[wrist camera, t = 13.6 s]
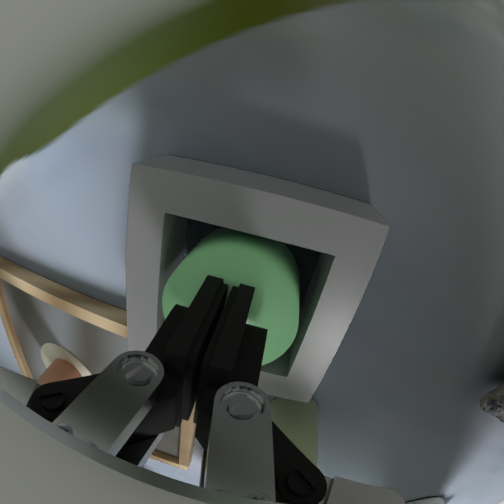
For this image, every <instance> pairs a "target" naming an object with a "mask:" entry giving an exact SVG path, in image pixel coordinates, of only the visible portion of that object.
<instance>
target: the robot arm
mask: <svg viewBox="0 0 504 504" xmlns="http://www.w3.org/2000/svg"><path fill="white" fill-rule="evenodd" d="M223 281H224V280H223V279H222V278H218V277H215V276H211V275H207V277H206V279H205V280H204V282H203V284H202V285H201V287H200V289H199V291H198V292H197V294H196V296H195V297H194V299H193V301H192V303H191V304H190V306H189V308H188V307H185V306H181V305H178V304H176V305H175V306H174V307H173V308H172V310H171V311H170V313H169V315H168V316H167V318H166V319H165V321H164V322H163V324H162V325H161V327H160V328H159V330H158V332H157V333H156V335H155V336H154V338H153V339H152V341H151V343H150V344H149V346H148V347H147V349H146V350H145V351H138V350H134V351H127V352H125V353H122V354H120V355H119V356H117V357H116V358H115V359H114V360H113V361H112V362H111V363H110V364H109V365H108V366H107V367H106V368H105V369H104V370H103V371H102V372H101V373H98V374H93V375H88V376H83V377H78V378H73V379H67V380H62V381H56V382H50V383H47V384H43V385H40V384H39V382H38V381H37V380H35V379H32V378H29V377H26V376H23V375H21V374H18V373H15V372H13V371H10V370H8V369H5V368H3V367H1V366H0V504H444V499H443V498H439V497H434V498H426V499H421V500H416V501H412V502H408V503H405V501H404V499H403V497H402V496H401V495H400V494H399V493H398V492H397V491H394V490H392V489H387V488H382V487H377V486H372V485H368V484H363V483H359V482H355V481H351V480H347V479H343V478H340V477H336V476H335V477H334V478H329V477H326V476H324V475H323V474H322V473H321V471H320V470H319V469H318V468H317V467H316V466H315V465H314V464H313V463H312V462H311V461H310V460H309V459H308V458H307V457H306V456H305V455H304V454H303V453H302V452H301V451H300V450H299V449H298V448H297V447H296V446H295V445H294V444H293V443H292V442H291V441H290V439H289V438H288V437H287V436H286V435H285V434H284V433H283V432H282V431H281V430H280V429H279V428H278V427H277V425H276V424H275V423H274V422H273V421H272V416H271V404H270V400H269V398H268V396H267V395H266V393H265V392H264V391H262V390H261V389H260V388H259V387H258V382H259V377H260V371H261V366H262V360H263V355H264V349H265V343H266V338H267V331H268V329H265V328H261V327H257V326H253V325H249V324H246V322H247V318H248V314H249V310H250V306H251V302H252V299H253V295H254V291H255V287H252V286H248V285H245V284H241V283H240V285H239V287H236V286H233V287H232V289H231V291H230V294H229V296H228V299H227V301H226V304H225V300H226V295H227V290H228V284H225V283H223ZM224 305H225V306H224ZM195 402H196V404H195ZM194 405H195V411H194V419H193V423H196V429H195V437H196V438H197V440H198V441H199V443H200V444H201V446H202V447H203V454H202V463H201V472H200V481H199V487H198V486H195V485H191V484H188V483H185V482H181V481H178V480H175V479H172V478H169V477H166V476H163V475H160V474H158V473H155V472H152V471H149V470H147V469H144V468H142V467H143V466H144V464H145V463H146V461H147V460H148V458H149V457H150V455H151V454H152V452H153V451H154V449H155V448H156V446H157V445H158V443H159V442H160V440H161V439H162V437H163V434H164V432H167V431H170V430H173V429H174V428H175V426H176V427H180V424H181V422H182V419H183V420H186V421H188V420H189V418H190V416H191V413H192V410H193V408H194Z"/></svg>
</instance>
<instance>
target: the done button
mask: <svg viewBox="0 0 504 504" xmlns="http://www.w3.org/2000/svg"><path fill="white" fill-rule="evenodd" d="M207 275H211V276H215V277H218V278H222V279H223V280H224V281H223V283H225V284H228V290H227V295H226V300H225V304H226V301H227V299H228V296H229V294H230V291H231V289H232V287H233V286H236V287H239V285H240V283H241V284H245V285H248V286H252V287H255V291H254V295H253V299H252V302H251V306H250V310H249V314H248V318H247V322H246V324H249V325H253V326H257V327H261V328H265V329H268V331H267V338H266V343H265V349H264V355H263V360H262V365H265V364H267V363H270V362H272V361H274V360H275V359H277V358H278V357H280V356H281V355H282V354H284V353H285V352H286V350H287V349H288V348H289V347H290V346H291V344H292V343H293V341H294V339H295V337H296V334H297V330H298V324H299V299H300V273H299V268H298V265H297V262H296V260H295V258H294V256H293V254H292V252H291V251H290V250H289V248H288V247H287V246H286V245H285V244H284V243H283V242H280V241H276V240H273V239H269V238H265V237H261V236H257V235H253V234H249V233H245V232H241V231H237V230H233V229H229V228H225V227H220V228H218V229H215V230H213V231H211V232H210V233H208V234H207V235H205V236H204V237H203V238H202V239H201V240H200V241H199V242H198V243H197V244H196V245H195V247H194V248H193V249H192V250H191V251H190V253H189V254H188V255H187V256H186V257H185V259H184V260H183V261H182V262H181V264H180V265H179V266H178V267H177V268H176V270H175V271H174V272H173V273H172V275H171V276H170V277H169V279H168V281H167V283H166V285H165V288H164V291H163V296H162V308H163V314H164V317H165V319H166V318H167V316H168V315H169V313H170V311H171V310H172V308H173V307H174V306H175V305H176V304H178V305H181V306H185V307H188V308H189V306H190V304H191V303H192V301H193V299H194V297H195V296H196V294H197V292H198V291H199V289H200V287H201V285H202V284H203V282H204V280H205V279H206V277H207ZM224 306H225V305H224Z"/></svg>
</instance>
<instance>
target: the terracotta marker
mask: <svg viewBox="0 0 504 504" xmlns="http://www.w3.org/2000/svg"><path fill="white" fill-rule="evenodd" d="M78 377H82V375H81V374H80V373H79V371H78V370H77V369H76V368H75V367H74V366H73V365H72V364H70V363H69V362H67V361H66V360H64V359H61V358H56V359H55V360H54V361H53V362H52V363H51V364H50V365H49V367H48V368H47V369H46V370H45V371H44V372H43V374H42V375H41V376H40V377H39V378H38V379H37V381H38V382H39V384H40V385H43V384H47V383H50V382H56V381H62V380H67V379H73V378H78Z"/></svg>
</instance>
